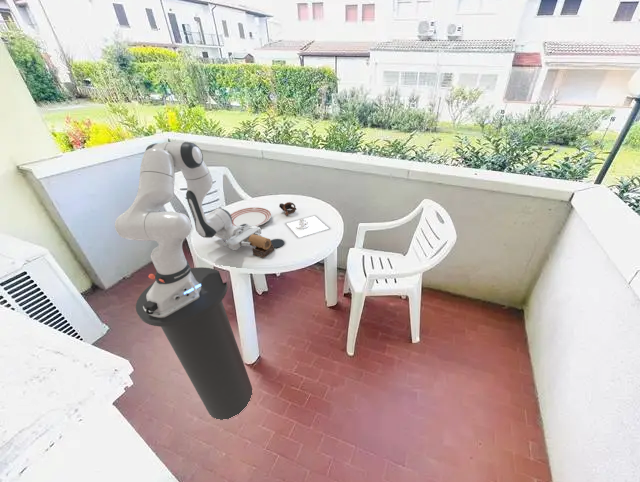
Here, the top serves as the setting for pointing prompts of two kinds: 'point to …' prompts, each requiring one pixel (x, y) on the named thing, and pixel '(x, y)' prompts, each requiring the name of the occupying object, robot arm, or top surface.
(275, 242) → the coaster
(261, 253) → the roll stand
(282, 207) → the brown openwork ring figurine
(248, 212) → the dinner plate
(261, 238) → the paper roll
